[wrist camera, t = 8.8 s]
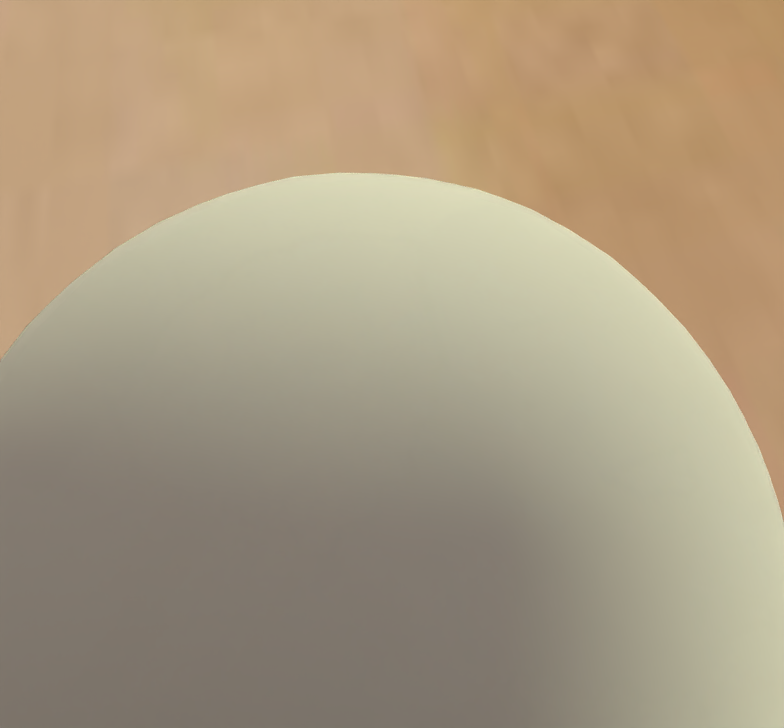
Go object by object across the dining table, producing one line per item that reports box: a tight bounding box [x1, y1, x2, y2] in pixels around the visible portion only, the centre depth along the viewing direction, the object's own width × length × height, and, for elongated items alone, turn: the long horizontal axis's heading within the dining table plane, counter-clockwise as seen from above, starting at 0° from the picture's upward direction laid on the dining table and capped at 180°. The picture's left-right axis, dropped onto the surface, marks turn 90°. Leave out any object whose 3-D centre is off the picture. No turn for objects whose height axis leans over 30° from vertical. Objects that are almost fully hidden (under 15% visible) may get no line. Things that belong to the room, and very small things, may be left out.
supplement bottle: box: [0, 173, 784, 728], centre depth 9 cm, size 7×7×13 cm
